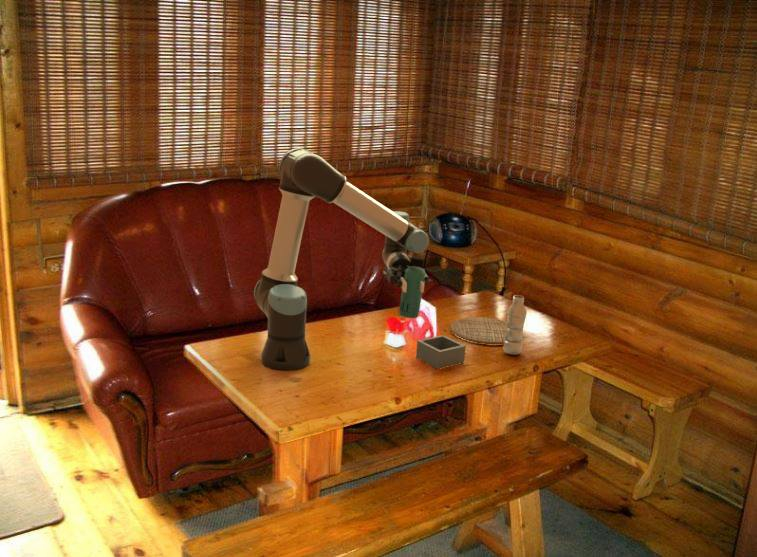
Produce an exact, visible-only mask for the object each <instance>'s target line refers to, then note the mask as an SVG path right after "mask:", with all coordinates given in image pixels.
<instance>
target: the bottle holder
mask: <svg viewBox="0 0 757 557" xmlns="http://www.w3.org/2000/svg"><path fill="white" fill-rule="evenodd" d="M465 356H466V345H464V344H462V343H461V342H459V341H457V340H454V339H452V338H450V337H449V336H446V335H444V334H442V335H441V334H440V335H437V336H432V337H427V338H424V339H418V340H417V341H416V355H415V358H416V359H417V358H419V359H421V360H422V361H421V360H420V361H421V362H423V361H424V362H423V363H425V362H426V363H425V364H427V363H428V364H429V365H428V364H427V365H428V366H430V365H431V366H430V367H432V366H433V368H434V367H435V368H434V369H436V368H437V369H436V370H438V369H439V370H441V369H440V368H443V367H446V366H451V365H455V364H459V363H463V362H464V363H465V358H466V357H465ZM419 359H418V360H419ZM464 363H463V364H464ZM459 365H460V364H459ZM455 366H456V365H455ZM451 367H452V366H451ZM443 369H444V368H443Z"/></svg>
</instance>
